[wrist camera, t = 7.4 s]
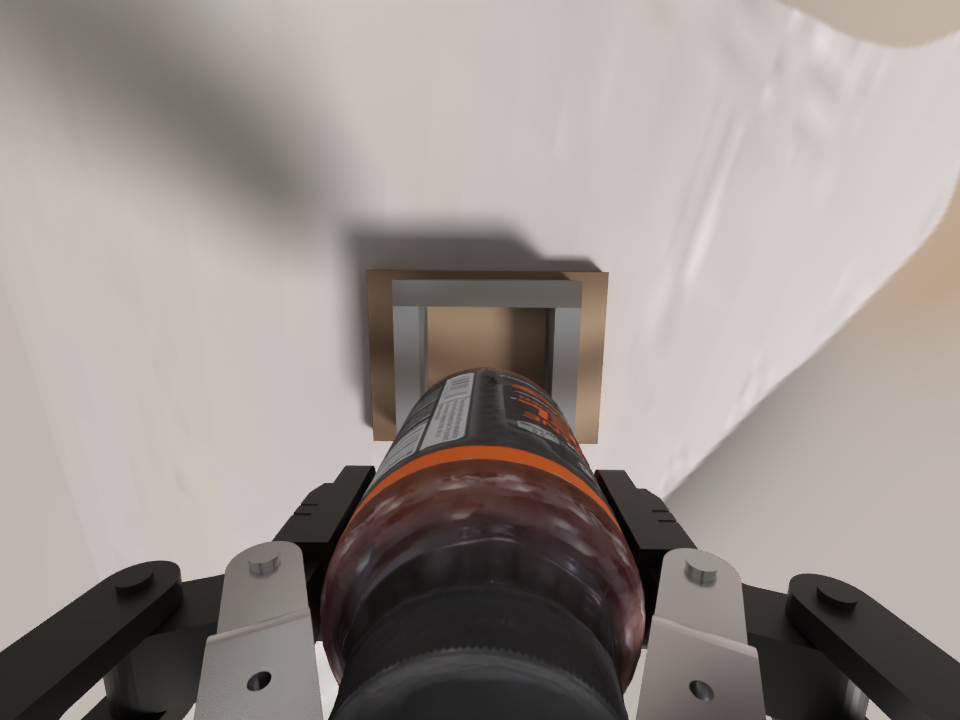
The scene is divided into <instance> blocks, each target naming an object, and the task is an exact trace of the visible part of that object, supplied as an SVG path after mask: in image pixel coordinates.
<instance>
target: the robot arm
mask: <svg viewBox="0 0 960 720" xmlns="http://www.w3.org/2000/svg"><path fill="white" fill-rule="evenodd" d="M375 474H376V471H375V468H374V466H345V467H344V469H343V470H342V471H341V473H340V474H339V476H338V477H337V479H336V480H335V481H334V483H324V484H323V485H321V486H319V487H318V488H316V489H315V490H313V491H311V492H310V493H309V494H308V495H307V497H306V498H305V499H304V500H303V502H302V503H301V506H299V507H298V508H297V509H296V511H295V512H294V515H292V516H291V517H290V518H289V520H288V521H287V522H286V524H285V525H284V526H283V527H282V529H281V530H280V531H279V533H278V534H277V535H276V536H275V538H274V539H273V540H272V541H271V542H266V543H262V544H258V545H255V546H253V547H250V548H248V549H246V550H244V551H243V552H241V553H239V554H238V555H237V556H235V557H234V558H233V559H232V560H231V561H230V562H229V564H228V565H227V567H226V570H225V574H222V575H218V576H213V577H208V578H203V579H197V580H192V581H187V582H182V580H181V573H180V568H179V566H178V565H177V564H175V563H173V562H170V561H150V562H145V563H140V564H137V565H134V566H131V567H128V568H125V569H123V570H121V571H119V572H116V573H115V574H113V575H111V576H109V577H108V578H106V579H104V580H103V581H101V582H100V583H99V584H97V585H96V586H95V587H93V588H91V589H90V590H89V591H87V592H86V593H84V594H83V595H81V596H80V597H79V598H77V599H76V600H74V601H73V602H71V603H70V604H69V605H67V606H66V607H64V608H63V609H62V610H60V611H59V612H57V613H56V614H54V615H53V616H52V617H50V618H49V619H47V620H46V621H44V622H43V623H41V624H40V625H39V626H37V627H36V628H34V629H33V630H32V631H30V632H29V633H27V634H26V635H24V636H23V637H21V638H20V639H19V640H17V641H16V642H14V643H13V644H11V645H10V646H9V647H7V648H6V649H4V650H3V651H2V652H0V720H59V719H60V718H61V716H62V715H63V714H64V713H65V712H66V711H67V710H68V709H69V708H70V707H71V706H72V705H73V704H74V703H75V702H76V701H77V700H79V699H80V698H81V697H82V696H83V695H84V694H85V693H86V692H87V691H88V690H89V689H90V688H92V687H93V686H94V685H95V684H96V683H97V682H98V681H99V680H100V679H101V678H102V677H103V679H104V684H105V690H106V694H107V695H106V696H105V697H104V698H103V699H102V700H101V701H100V702H99V703H98V704H97V705H96V706H95V707H94V708H93V709H92V710H91V711H90V712H89V713H88V714H87V715H85V716H84V717H83V718H82V719H81V720H182V719H183V718H184V717H185V716H186V715H187V713H188V712H189V711H190V709H191V708H192V706H193V704H194V703H196V707H195V714H194V720H323V712H322V704H321V696H320V687H319V679H318V671H317V663H316V655H315V643H316V641H323V640H322V637H321V629H320V622H321V617H320V606H321V593H322V588H323V584H324V580H325V577H326V573H327V569H328V566H329V563H330V560H331V558H332V556H333V554H334V551H335V549H336V546H337V544H338V542H339V539H340V537H341V536H342V534H343V532H344V530H345V529H346V527H347V525H348V523H349V521H350V519H351V518H352V516H353V514H354V512H355V510H356V508H357V506H358V505H359V503H360V501H361V499H362V497H363V496H364V494H365V492H366V490H367V489H368V487H369V485H370V483H371V482H372V480H373V478H374V476H375ZM594 476H595V478H596V480H597V482H598V484H599V486H600V488H601V490H602V492H603V494H604V495H605V497H606V499H607V502H608V504H609V506H610V507H611V508H612V509H613V512H614V515H615V517H616V520H617V522H618V525H619V527H620V529H621V531H622V533H623V535H624V538H625V540H626V542H627V544H628V546H629V548H630V550H631V553H632V555H633V558H634V560H635V563H636V566H637V568H638V571H639V576H640V579H641V582H642V588H643V591H644V598H645V605H644V607H645V632H644V636H643V643H642V648H641V649H647V654H646V660H645V667H644V673H643V679H642V685H641V691H640V697H639V704H638V709H637V716H636V720H766V715H767V716H771V718H772V720H869V719H867V718H866V716H865V715H866V710H867V706H868V702H869V699H871V700H872V701H873V702H874V703H875V704H876V705H877V706H878V707H879V708H880V709H881V710H882V711H883V712H884V713H885V714H886V715H887V716H888V717H889V718H890V719H891V720H960V663H959V662H958V661H956V660H955V659H953V658H952V657H951V656H950V655H948V654H947V653H945V652H944V651H943V650H941V649H940V648H939V647H937V646H936V645H935V644H933V643H932V642H931V641H929V640H928V639H927V638H925V637H924V636H923V635H921V634H920V633H918V632H917V631H916V630H914V629H913V628H912V627H910V626H909V625H908V624H906V623H905V622H904V621H902V620H901V619H899V618H898V617H897V616H895V615H894V614H893V613H891V612H890V611H889V610H887V609H886V608H884V607H883V606H882V605H881V604H879V603H878V602H877V601H875V600H874V599H873V598H871V597H870V596H868V595H867V594H865V593H864V592H862V591H861V590H859V589H857V588H856V587H853V586H851V585H849V584H847V583H845V582H842V581H840V580H837V579H834V578H831V577H827V576H823V575H817V574H799V575H796V576H794V577H793V578H792V579H791V580H790V583H789V589H788V594H783V593H779V592H774V591H770V590H766V589H761V588H756V587H753V586H749V585H746V584H743V583H741V578H740V576H739V574H738V572H737V571H736V570H735V568H734V567H732V566H731V565H730V564H729V563H728V562H726V561H725V560H723V559H721V558H720V557H717V556H716V555H714V554H711V553H708V552H705V551H702V550H698V549H697V547H696V546H695V545H694V543H693V542H692V541H691V539H690V538H689V536H688V535H687V534H686V532H685V531H684V530H683V528H682V527H681V526H680V524H679V523H677V522H676V519H675V518H674V516H673V515H672V514H671V513H669V509H668V508H667V507H666V505H665V504H664V503H663V501H662V500H661V499H660V498H659V497H657V496H656V495H654V494H653V493H651V492H650V491H648V490H647V489H637V488H636V487H635V485H634V484H633V482H632V481H631V479H630V478H629V476H628V475H627V473H626V472H625V471H624V470H596V471H595V473H594Z"/></svg>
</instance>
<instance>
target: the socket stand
mask: <svg viewBox="0 0 960 720" xmlns="http://www.w3.org/2000/svg"><path fill="white" fill-rule="evenodd" d="M366 271H367V294H368V318H369V342H370V365H371V389H372V413H373V436H374V441H394V440H395V438H396V436H397V435H398V432H399V431H400V429H401V427H402V425H403V423H404V421H405V420H406V418H407V416H408V415H409V413H410V411H411V410H412V408H413V407H414V405H415V404H416V402H417V401H418V400H419V399H420V398H421V396H422V395H423V394H424V393H425V392H426V391H427V390H428V389H429V388H430V387H431V386H432V385H434V384H435V383H436V382H438V381H440V380H441V379H443V378H445V377H447V376H449V375H451V374H454V373H456V372H459V371H463V370H467V369H472V368H479V367H492V368H500V369H503V370H508V371H511V372H515V373H517V374H519V375H522V376H524V377H526V378H527V379H529V380H531V381H532V382H534V383H535V384H537V385H538V386H539V387H541V388H542V389H543V390H544V391H545V392H546V393H547V394H548V395H549V396H550V397H551V398H552V399H553V401H554V402H555V403H557V405H558V406H559V408H560V410H561V411H562V412H563V415H564V417H565V419H566V420H567V423H568V425H569V426H570V428H571V430H572V432H573V435H574V437H575V438H576V440H577V442H578V443H579V444H597V442H598V427H599V412H600V397H601V381H602V366H603V351H604V336H605V321H606V305H607V290H608V275H609V272H530V271H417V270H366Z"/></svg>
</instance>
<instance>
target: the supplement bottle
mask: <svg viewBox="0 0 960 720" xmlns="http://www.w3.org/2000/svg"><path fill="white" fill-rule="evenodd" d="M644 605H645V598H644V591H643V588H642V582H641V579H640V576H639V571H638V568H637V566H636V563H635V560H634V558H633V555H632V553H631V550H630V548H629V546H628V544H627V542H626V540H625V538H624V535H623V533H622V531H621V529H620V527H619V525H618V522H617V520H616V517H615V515H614V512H613V509H612V508H611V507H610V506H609V504H608V502H607V499H606V497H605V495H604V494H603V492H602V490H601V488H600V486H599V484H598V482H597V480H596V478H595V476H594V474H593V472H592V471H591V469H590V467H589V464H588V462H587V460H586V458H585V457H584V455H583V453H582V451H581V448H580V446H579V443H578V442H577V440H576V438H575V437H574V435H573V432H572V430H571V428H570V426H569V425H568V423H567V420H566V419H565V417H564V415H563V412H562V411H561V410H560V408H559V406H558V405H557V403H555V402H554V401H553V399H552V398H551V397H550V396H549V395H548V394H547V393H546V392H545V391H544V390H543V389H542V388H541V387H539V386H538V385H537V384H535V383H534V382H532V381H531V380H529V379H527V378H526V377H524V376H522V375H519V374H517V373H515V372H511V371H508V370H503V369H500V368H492V367H479V368H472V369H467V370H463V371H459V372H456V373H454V374H451V375H449V376H447V377H445V378H443V379H441V380H440V381H438V382H436V383H435V384H434V385H432V386H431V387H430V388H429V389H428V390H427V391H426V392H425V393H424V394H423V395H422V396H421V398H420V399H419V400H418V401H417V402H416V404H415V405H414V407H413V408H412V410H411V411H410V413H409V415H408V416H407V418H406V420H405V421H404V423H403V425H402V427H401V429H400V431H399V432H398V435H397V436H396V438H395V440H394V441H393V443H392V445H391V447H390V449H389V451H388V453H387V454H386V456H385V458H384V460H383V461H382V463H381V465H380V467H379V469H378V471H377V472H376V474H375V476H374V478H373V480H372V482H371V483H370V485H369V487H368V489H367V490H366V492H365V494H364V496H363V497H362V499H361V501H360V503H359V505H358V506H357V508H356V510H355V512H354V514H353V516H352V518H351V519H350V521H349V523H348V525H347V527H346V529H345V530H344V532H343V534H342V536H341V537H340V539H339V542H338V544H337V546H336V549H335V551H334V554H333V556H332V558H331V560H330V563H329V566H328V569H327V573H326V577H325V580H324V584H323V588H322V593H321V606H320V617H321V622H320V629H321V637H322V640H323V647H324V650H325V652H326V656H327V659H328V662H329V665H330V668H331V670H332V672H333V675H334V677H335V679H336V681H337V683H338V685H339V690H338V695H337V698H336V701H335V704H334V707H333V710H332V712H331V714H330V717H329V719H328V720H629V719H628V714H627V711H626V708H625V705H624V699H623V695H624V693H625V692H626V689H627V687H628V686H629V684H630V682H631V680H632V678H633V675H634V672H635V669H636V666H637V663H638V660H639V658H640V654H641V648H642V643H643V636H644V632H645V607H644Z"/></svg>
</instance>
